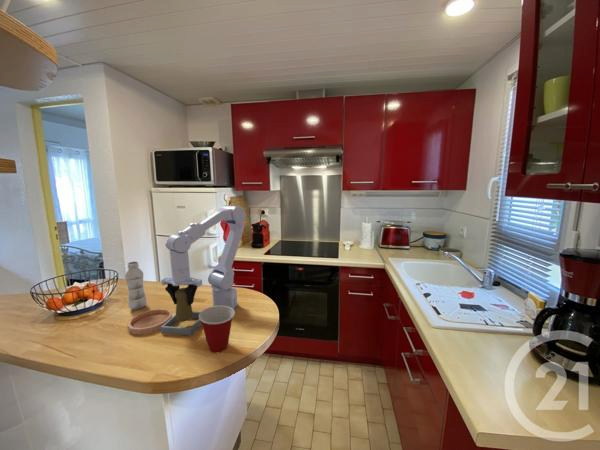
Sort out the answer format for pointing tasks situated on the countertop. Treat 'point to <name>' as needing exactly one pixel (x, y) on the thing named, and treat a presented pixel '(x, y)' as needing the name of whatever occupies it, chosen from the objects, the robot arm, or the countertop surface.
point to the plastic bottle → (135, 286)
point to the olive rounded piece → (182, 306)
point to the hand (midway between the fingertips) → (183, 303)
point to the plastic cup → (217, 326)
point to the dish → (149, 321)
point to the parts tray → (179, 330)
